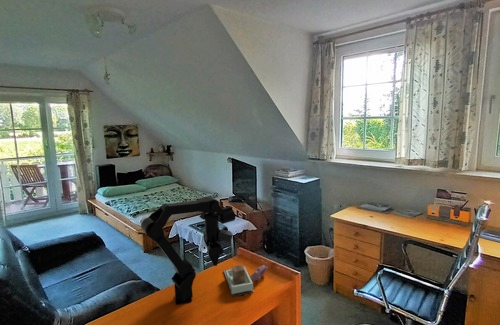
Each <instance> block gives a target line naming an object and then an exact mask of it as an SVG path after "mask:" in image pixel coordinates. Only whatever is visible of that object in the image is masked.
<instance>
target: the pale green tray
mask: <svg viewBox="0 0 500 325" xmlns="http://www.w3.org/2000/svg"><path fill="white" fill-rule="evenodd" d="M243 267H244V270H245V283H241V284H236V285H235V283H234V281H233V271H232V268H230V269H231V270H229V269H225V270H226V277H225V279H226V278H227V280H226V282H227V281H228V283H229V286H230V289H231V292H232V294H235V293H240V292H245V291H250V290H253V291H254V281H253V282H252V280H251V278H250V276H251V275H249V273H248V270H247V268H246V267H245V266H243ZM228 283H227V284H228ZM229 286H228V287H229ZM230 289H229V290H230ZM231 292H230V293H231ZM232 294H231V295H232Z"/></svg>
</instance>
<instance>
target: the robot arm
mask: <svg viewBox="0 0 500 325" xmlns="http://www.w3.org/2000/svg"><path fill="white" fill-rule="evenodd" d="M198 212H200V213H201V214H200V215H199V219H202V220H204V232H203V234H202V235H203V236H202V237H203V241H204V244H205V245H206V248H207V249H206V250H207V255H208V257H209V259H210V261H211V263H212V264H213V266H214V267H217V266H218V262H219V259H220V255H222V254H224V253H225V250H224V246H223V245H222V244H221V242H222V241H223V242H224V241H225V242H228V243H230V242H232V240H233V236H234V235H233V232H232V231H231V230H229V228H228V227H227V226H224V224H227V223H230V222H234V221H235V220H236V214H235V211H234V209H233V206H231V205H228V206H226V207H221V205H220V201H219V200H218V199H216V198H213V197H212V196H208V195H207V196H204V197H201V198H198V199H197V200H192V201H182V202H181V201H180V202H172V203H163V204H162V205H161V206H160V207H159V208H158V209H156V210H155V211H153V212H152V213H151V214H150V215H148V217H147V218H144V220H142V221H141V224H140V228H141V230H142V231H143V233H145V235H146V236H147V237H148V238H150V239H151V240H152V241H153V242H154V243H156V244H157V245H158V247H159V248H160V249H161V251H162V252H163V253H164V255H165V256H166V257H167V259H168V260H169V261H170V263H171V264H172V265H173V269H174V271H175V273H174V274H173V276H172V277H171V281H172V283H174V286H173V287H174V296H175V297H174V299H175V300H174V302H175V305H181V304H186V303H191V302H193V283H194V281H195V279H196V276H197V273H196V269H195V268H194V266H193V265H192V263H191V262H190V261H189V260H188V259H187V258H186V257H184V259H182V258H181V256H180V255H179V254H178V252H177V250H175V248H174V247H173V246H172V245H171V242H169V240H168V239H167V237H166V235H165V231H164V227H165V226H166V224H167V223H168V221H169V219H170V218H171V217H172V215H173V216H174V215H181V214H192V213H198ZM219 223H220V224H222V225H223V227H222V228H221V229H220V227H219Z"/></svg>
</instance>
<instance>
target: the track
mask: <svg viewBox="0 0 500 325" xmlns="http://www.w3.org/2000/svg"><path fill="white" fill-rule="evenodd" d="M231 269H232V268H230V269H229V268H228V270H231ZM226 270H227V269H224V270H223V274H224V276H225V277H224V278H225V279H226V283H227V286H228V288H229V290H230V293H231V294H230V295H231V296H232V298H233V297H238V296H242V295H247V294H252V293H254V289H253V290H250V291H245V292H240V293H235V294H232V292H231V289H230V286H229V283H228V281H227V278H226Z"/></svg>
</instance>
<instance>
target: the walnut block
mask: <svg viewBox="0 0 500 325" xmlns="http://www.w3.org/2000/svg"><path fill="white" fill-rule="evenodd" d="M243 265H244V264H239V265H233V266H232V268H231V269H232V271H233V281H234V283H235V285H236V284H241V283H245V270H244V267H245V266H243Z"/></svg>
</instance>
